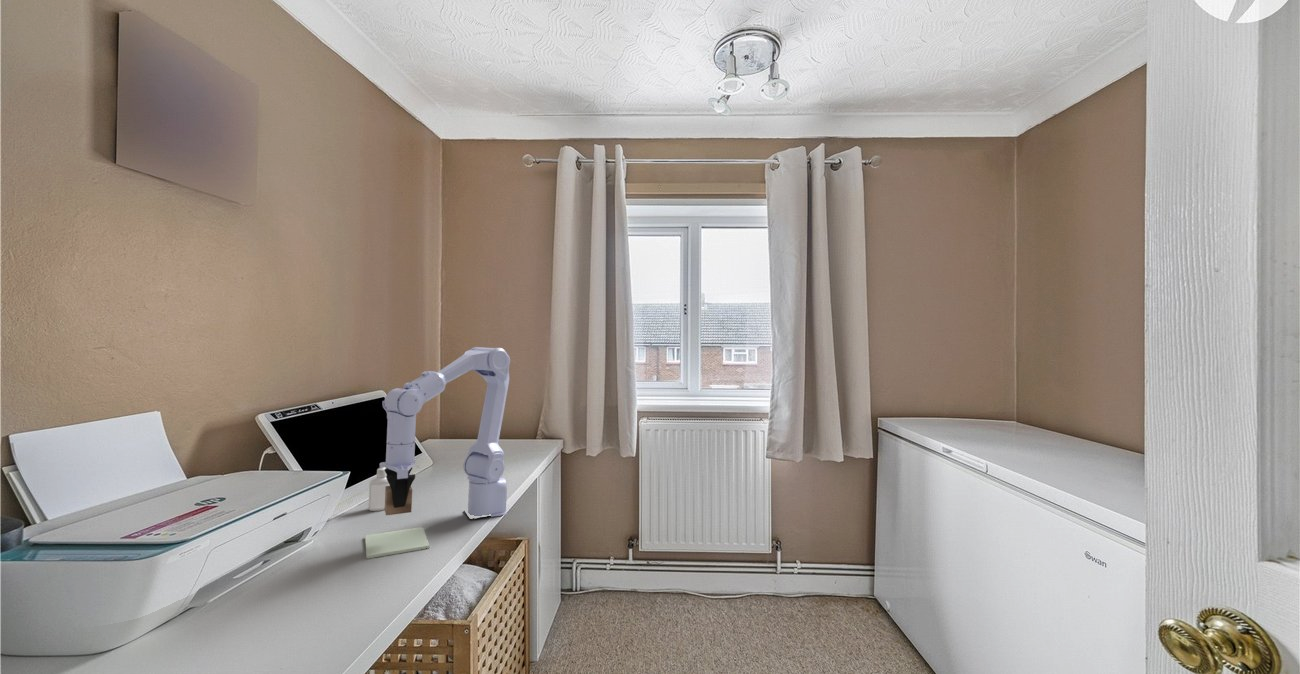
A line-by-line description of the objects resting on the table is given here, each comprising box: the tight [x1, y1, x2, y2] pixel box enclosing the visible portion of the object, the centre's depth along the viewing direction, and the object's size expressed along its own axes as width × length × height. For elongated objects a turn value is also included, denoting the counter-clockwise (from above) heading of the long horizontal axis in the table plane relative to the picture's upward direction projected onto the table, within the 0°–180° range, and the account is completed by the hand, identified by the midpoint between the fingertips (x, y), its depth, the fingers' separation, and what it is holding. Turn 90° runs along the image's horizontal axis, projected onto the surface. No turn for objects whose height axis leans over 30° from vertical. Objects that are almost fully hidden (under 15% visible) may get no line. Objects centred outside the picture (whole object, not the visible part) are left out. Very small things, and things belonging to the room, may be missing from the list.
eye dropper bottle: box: [367, 466, 390, 512], centre depth 132 cm, size 4×6×12 cm
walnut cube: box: [384, 486, 413, 516], centre depth 111 cm, size 5×5×5 cm
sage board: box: [364, 526, 430, 560], centre depth 110 cm, size 12×12×1 cm
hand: (398, 503), depth 111 cm, fingers closed on walnut cube, 5 cm apart
